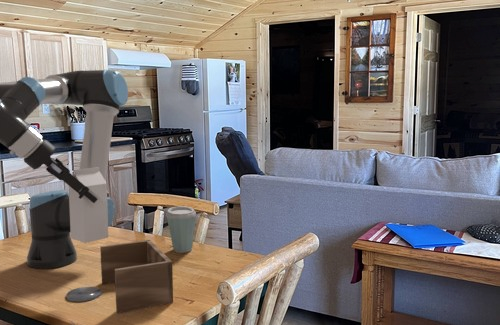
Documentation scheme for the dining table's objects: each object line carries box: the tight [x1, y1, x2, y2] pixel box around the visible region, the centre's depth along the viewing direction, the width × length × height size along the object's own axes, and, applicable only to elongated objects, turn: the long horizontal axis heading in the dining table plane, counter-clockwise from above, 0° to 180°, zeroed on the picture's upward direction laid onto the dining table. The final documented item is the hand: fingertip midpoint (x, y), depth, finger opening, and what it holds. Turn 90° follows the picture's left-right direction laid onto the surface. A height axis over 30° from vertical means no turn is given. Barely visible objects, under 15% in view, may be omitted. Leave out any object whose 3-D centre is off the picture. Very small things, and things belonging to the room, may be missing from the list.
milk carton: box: [68, 167, 109, 244], centre depth 126 cm, size 7×7×19 cm
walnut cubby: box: [100, 239, 174, 314], centre depth 130 cm, size 22×14×11 cm, turn 27°
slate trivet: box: [65, 286, 102, 303], centre depth 129 cm, size 9×9×1 cm
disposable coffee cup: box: [165, 205, 197, 254], centre depth 167 cm, size 11×11×15 cm
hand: (100, 204), depth 128 cm, fingers closed on milk carton, 9 cm apart
